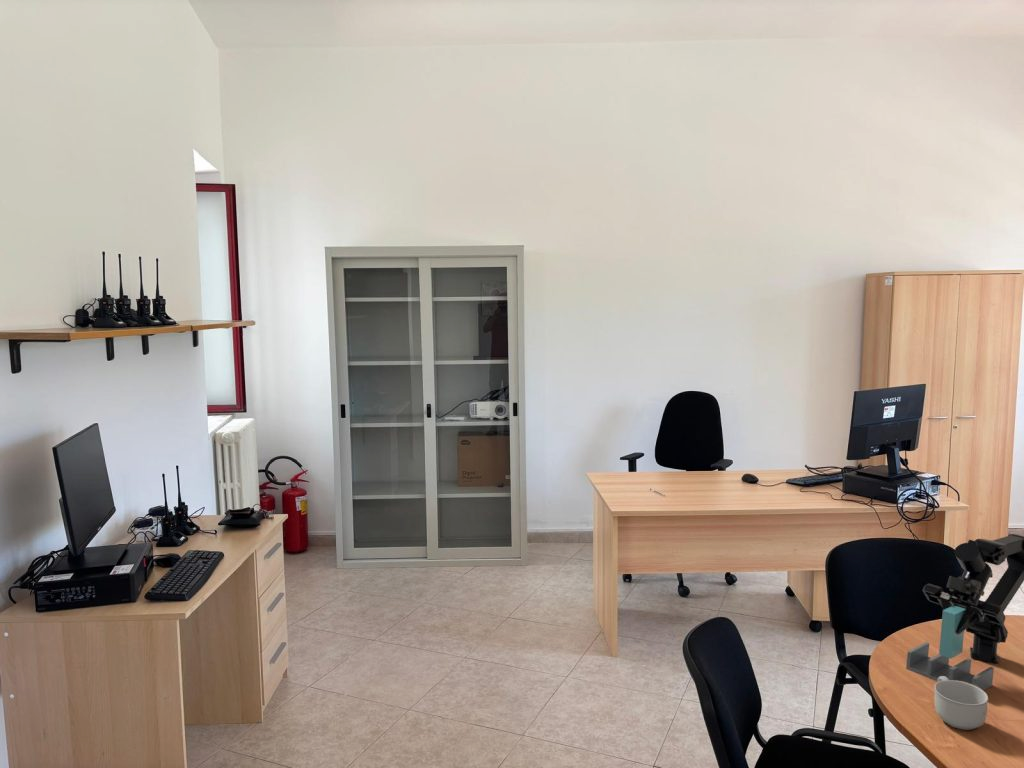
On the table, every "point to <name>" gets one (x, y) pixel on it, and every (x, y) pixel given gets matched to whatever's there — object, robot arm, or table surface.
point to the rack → (946, 668)
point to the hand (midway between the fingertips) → (950, 630)
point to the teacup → (960, 703)
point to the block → (951, 632)
